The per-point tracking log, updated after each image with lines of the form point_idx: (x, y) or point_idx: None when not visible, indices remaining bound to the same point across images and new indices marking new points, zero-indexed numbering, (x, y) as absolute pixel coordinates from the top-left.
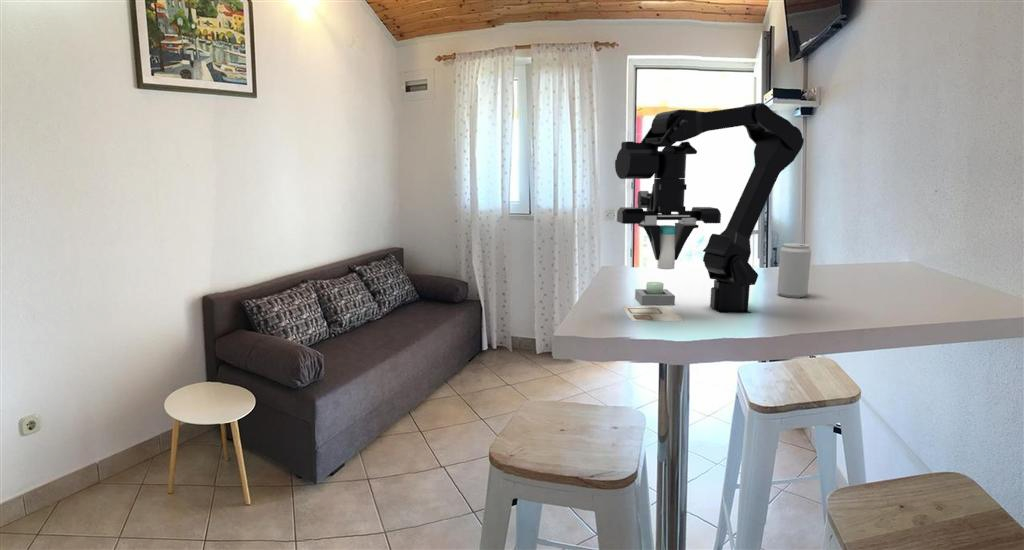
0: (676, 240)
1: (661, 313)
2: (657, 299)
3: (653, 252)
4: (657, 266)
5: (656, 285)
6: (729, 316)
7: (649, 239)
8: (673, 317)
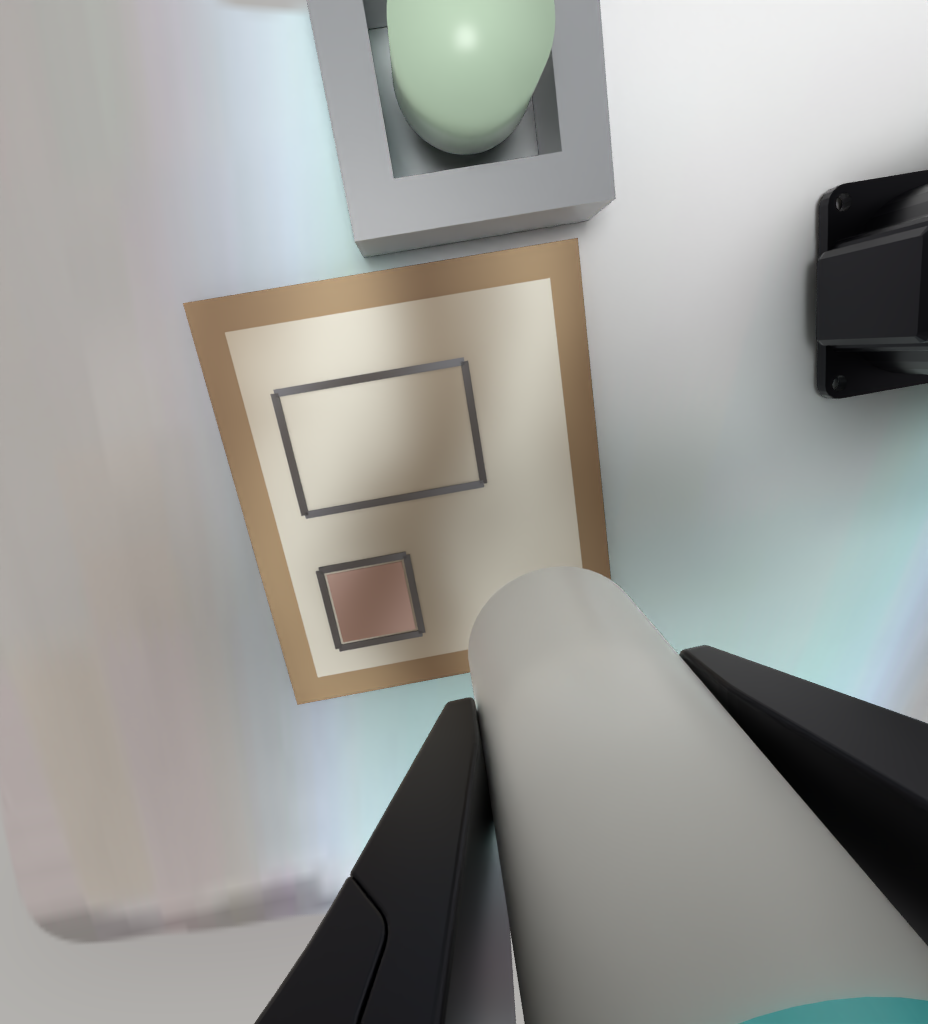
0: (902, 902)
1: (481, 487)
2: (477, 227)
3: (419, 760)
4: (469, 655)
5: (480, 118)
6: (858, 418)
7: (312, 939)
8: (539, 567)
